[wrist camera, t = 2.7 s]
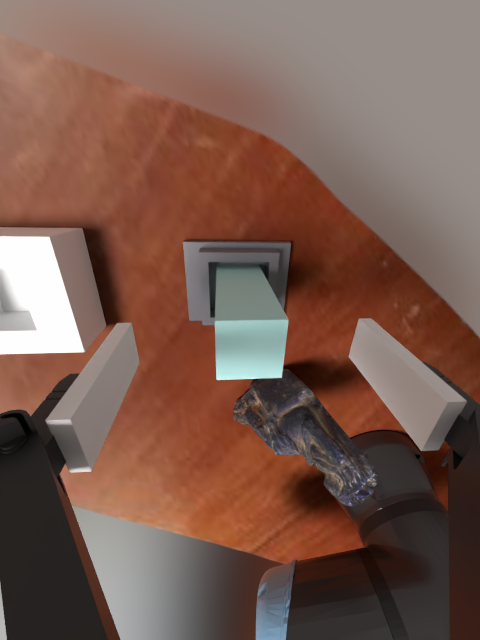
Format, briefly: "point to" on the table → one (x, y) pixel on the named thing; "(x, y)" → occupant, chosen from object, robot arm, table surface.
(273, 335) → the plug
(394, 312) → the table surface
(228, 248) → the grey socket
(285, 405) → the carved stone figurine
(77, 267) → the port
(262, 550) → the table surface
